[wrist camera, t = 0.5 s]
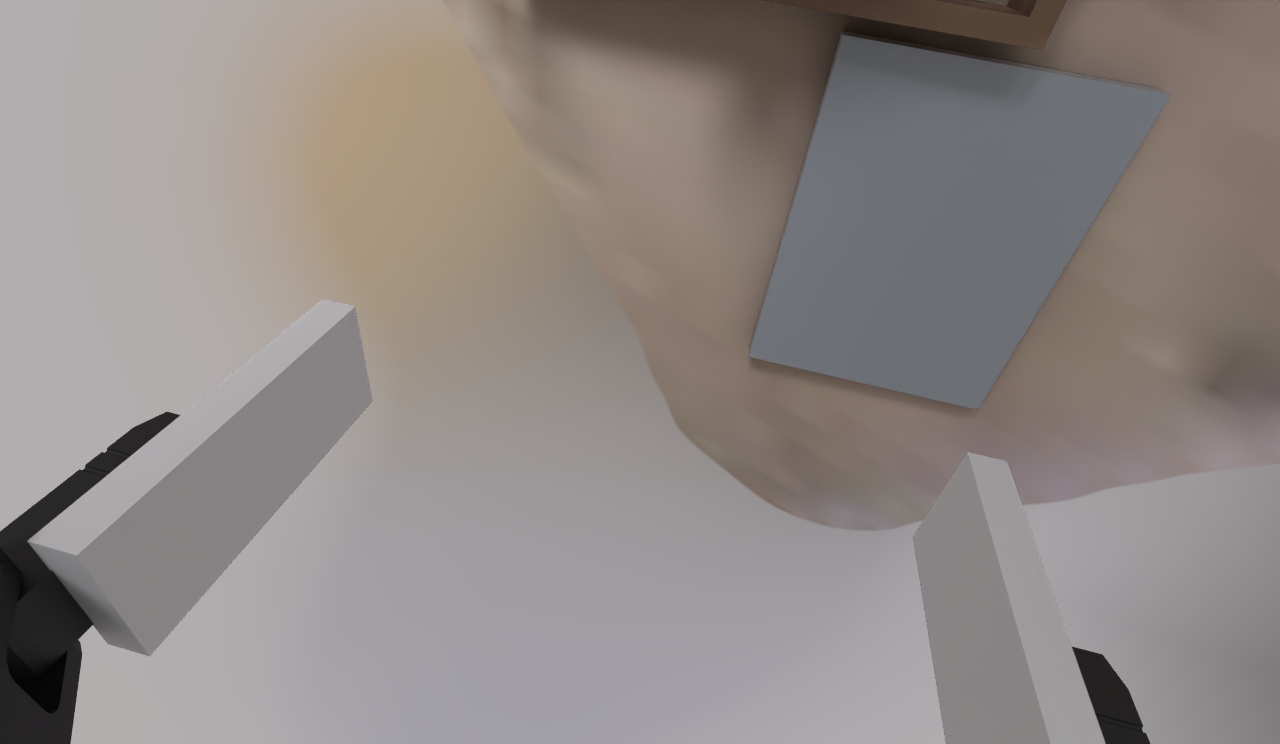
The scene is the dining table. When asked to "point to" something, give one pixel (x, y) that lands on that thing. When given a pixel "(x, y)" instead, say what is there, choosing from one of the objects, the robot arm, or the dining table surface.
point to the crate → (956, 17)
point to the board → (939, 213)
